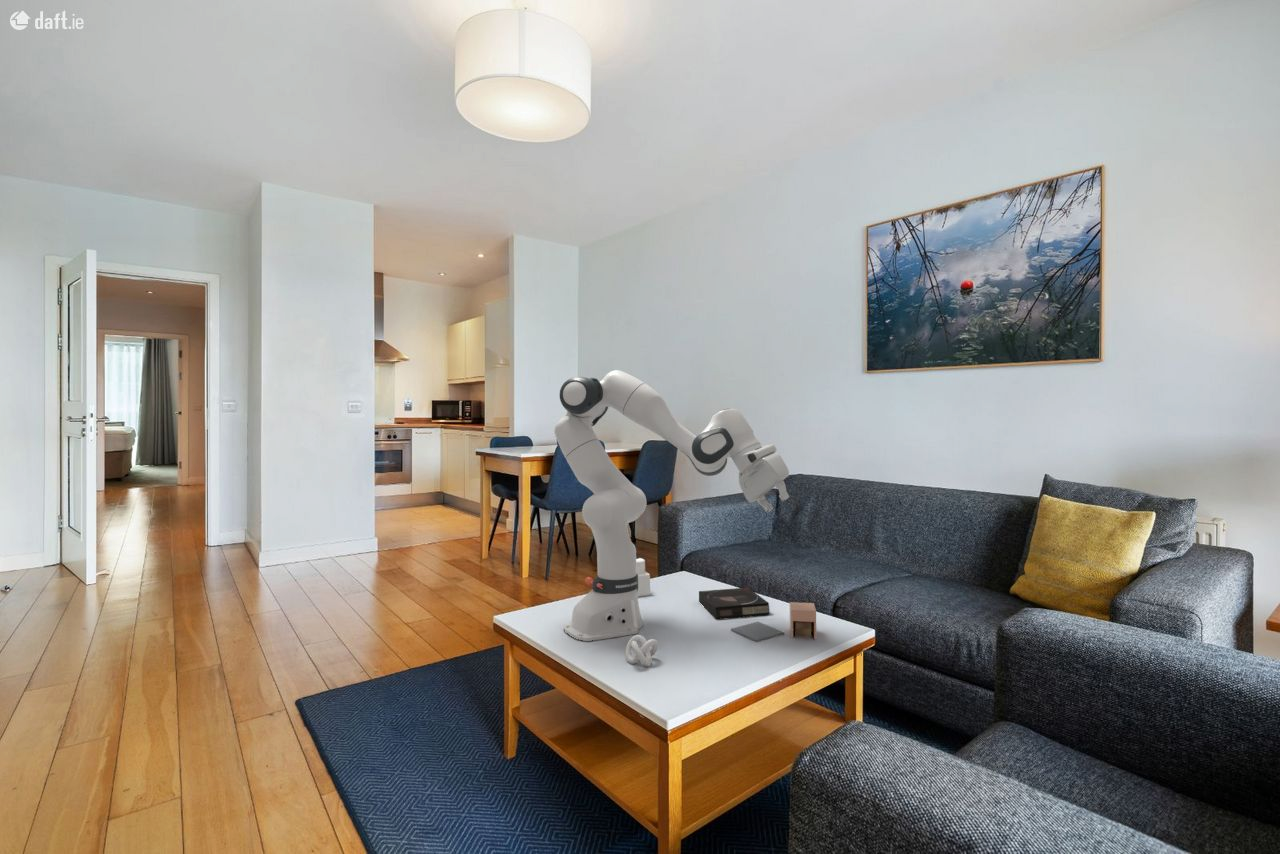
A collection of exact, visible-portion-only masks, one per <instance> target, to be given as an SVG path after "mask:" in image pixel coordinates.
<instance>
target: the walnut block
mask: <svg viewBox="0 0 1280 854" xmlns="http://www.w3.org/2000/svg"><path fill="white" fill-rule="evenodd" d="M794 634H795V638H812V631H811V622H803V621H795V630H794Z"/></svg>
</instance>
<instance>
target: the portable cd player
mask: <svg viewBox="0 0 1280 854" xmlns="http://www.w3.org/2000/svg"><path fill="white" fill-rule="evenodd" d="M699 602H700V603H701V604H702V605H703V606H704V607H703V606H702V605H701V604H700V603H699ZM698 603H699V604H700V605H701V606H702V607H703V609H704V610H706V611H707V612H708V613H709V614H710V616H712V618H714V620H716V619H718V620H725V619H724V618H729V619H738V618H739V617H741V618H750V616H753V617H763V616H770V605H769V604H770V603H769V602H768V601H766V599H764V598H763V597H762V596H761V595H759V594H757V593H756V592H755V591H753V590H752V589H751V588H749V587H739V588H736V587H735V588H727V589H726V588H725V589H723V588H721V589H712V590H699V591H698Z"/></svg>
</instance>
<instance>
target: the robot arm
mask: <svg viewBox="0 0 1280 854" xmlns="http://www.w3.org/2000/svg"><path fill="white" fill-rule="evenodd" d="M559 400H560V403H561V405H562V407H563V408H564V409H565V410H566V414H565V415H564V416H563V417H561V418H560V419H558V421H557V422H556V424H555V426H554V434H555V437H556V441H557V443H558V446H559V448H560V450H561V454H563V456H564V458H565V460H566V462H567V464H568V465H569V467H570V469H571V471H572V472H573V474H574V476H575V478H576V479H577V481H578V482H579V483H580V484H581V485H582V486H585V487H586V488H587V489H589V490H590V491H591V492H592V493H593V494H592V495H591V496H589V497H588V498H587V499H586V500H585V501H584V502H583V506H582V509H581V513H582V514H581V515H582V519H583V521H584V523H585V524H586V525H587V526H588V528H590V530H591V532H592V535H593V539H594V542H595V547H596V548H595V549H596V563H597V564H596V565H597V567H596V568H597V574H596V576H595V578H592V577H590V576H587V577H586V578H585V581H584V582H585V584H586V585H589V586H591V587H592V588H591V590H590V591H589V592H588V593H587V594H586V595H585V596H584V597H582V598H581V599H580V600H579V601H578V602H577V603H576V604H575V605H574V607H573V609H572V615H571V621H569V622H566V623H564V625H563V631H564V630H565V631H564V632H565V633H566V634H567V633H568V634H569V635H570V636H569V635H568V634H567V635H568V636H569V637H571V636H572V637H571V638H573V637H574V638H573V639H575V638H576V640H578V639H579V640H578V641H581V640H583V641H582V642H592V640H593V641H599V640H604V639H611V638H616V637H617V638H618V637H623V636H630V635H637V634H638V633H639V630H640V629H641V628H642V626H643V625H644V621H643V619H642V615H641V611H640V605H639V597H638V595H637V592H638V574H637V573H636V557H637V548H636V545H635V544H634V543H633V542H632V539H631V536H630V533H629V528H628V527H629V526H628V525H629V523H632V522H635V521H636V520H638V519H639V518H640V517H641V516H642V515H643V513H645V511H646V508H647V505H648V504H647V503H648V502H647V498H646V494H645V493H644V492H643V491H642V489H641V488H639V487H637V486H636V485H634V484H633V483H632V482H631V481H630V480H629V479H628V478H627V477H626V476H625V474H623V473H622V471H621V470H620V469H619V468H618V467H617V466H616V465H615V463H614V462H613V460H612V459H611V458H610V456H609V455H608V453H607V451H606V450H605V447H604V446H603V445H602V443H601V441H600V440H599V438H598V436H597V435H596V433H595V431H594V429H593V427H594V426H595V425H597V423H598V422H599V420H600V419H602V417H604V415H606V413H607V412H608V410H609V408H612V409H614V410H616V411H618V412H619V413H620V414H622V415H623V416H625V417H626V418H627V419H629V420H630V421H633V422H634V423H635V424H638V425H639V426H642V427H644V428H645V429H647V430H649V431H651V432H652V433H654V434H656V435H658V436H660V437H661V438H662V439H664V440H666V441H667V442H668V443H669V444H671V445H672V446H674V447H675V448H676V449H677V450H679V451H680V452H681V453H683V454H684V455H685V456H686V457H687V458H688V459H689V461H690V462H691V464H692V465H693V467H694V469H695V470H696V471H697V472H698V473H699V474H701V475H703V476H707V477H710V476H711V477H712V476H717V475H719V474H720V473H721V472H723V471H724V470H725V468H726V466H727V463H728V459H729V458H731V459H732V461H733V463H734V465H735V466H736V468H737V470H738V471H739V472H738V483H739V484H738V485H739V486H740V489H741V491H742V493H743V495H744V497H745V499H746V501H747V502H748V503H751V504H752V503H753V502H757V504H759V505H760V506H761V507H762V508H763V509H764V510H765V512H766V513H769V512H771V511H772V510H773V509H774V507H773V504H772V503H771V502H770V503H769V502H768V501H767V500H766V499H767V497H765V495H766V494H767V493H768V492H770V491H771V490H772V489H774V488H776V489H778V492H779V495H778V497H779V498H780V501H782V502H785V501H786V500H788V499H789V498H790V494H789V493H788V491H787V487H786V483H785V481H784V480H785V479H786V478H788V477H789V476H790V474H789V473H790V472H789V469H788V467H787V465H786V463H785V461H784V459H783V458H782V456H781V455H780V453H778V452H777V447H776V446H775V444H773V443H772V444H771V443H770V444H767V445H762V443H761V442H760V441H759V440H758V439H757V438H756V437H755V435H754V431H753V428H752V426H751V425H750V424H749V422H748V421H747V420H746V417H745V416H744V415H743V414H742V413H741V412H740V410H739V409H736V408H734V407H733V408H731V407H730V408H724V409H721V410H719V411H717V412H716V413H715V412H714V414H713V415H712V416H711V419H710V421H709V423H708V424H707V425H706V427H705V428H704V429H703V430H702V431H701V432H700V433H699V434H698V435H695V434H694V433H693V432H692V431H690V430H689V429H687V428H686V427H684V425H682V423H679V422H678V420H676V418H675V417H674V416H673V414H672V412H670V410H669V407H668V406H667V404H666V402H665V400H664V398H663V397H662V396H661V394H659V393H658V392H657V391H656V390H655V389H654V388H653V387H651V386H650V385H648V384H647V383H646V382H644V381H642V380H640V379H639V378H638V377H636V376H633V375H632V374H629V373H628V372H625V371H623V370H620V369H614V370H611V371H609V372H608V373H607V374H605V376H604V377H603V378H602V379H601V380H598V378H596V377H584V376H583V377H582V376H579V377H577V376H576V377H571V378H569V379H567V380H566V381H564V382H563V384H562V385H561V387H560V390H559Z"/></svg>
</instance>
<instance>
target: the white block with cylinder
mask: <svg viewBox="0 0 1280 854" xmlns="http://www.w3.org/2000/svg"><path fill="white" fill-rule="evenodd" d="M636 573H637V574H638V592H637V595H638V598H640V597H647V596H648V597H649V596H651V574H650V573H648V572H647V571H646V560H645V558H643V557H641V556H636Z"/></svg>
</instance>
